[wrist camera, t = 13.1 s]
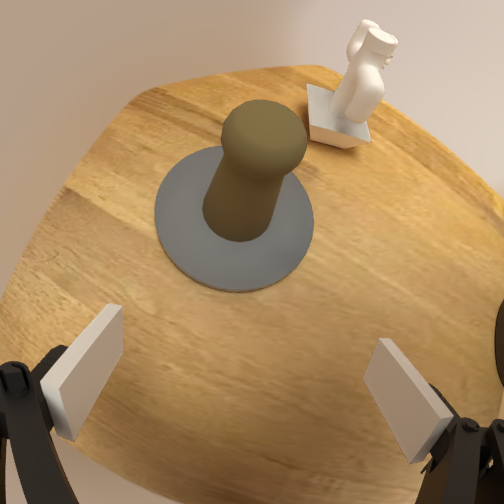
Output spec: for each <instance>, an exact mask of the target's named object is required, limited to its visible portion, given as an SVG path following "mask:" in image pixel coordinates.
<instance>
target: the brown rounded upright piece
mask: <svg viewBox="0 0 504 504" xmlns="http://www.w3.org/2000/svg"><path fill="white" fill-rule="evenodd" d="M221 143H222V148H223V152H224V155H223V157H222V159H221V161H220V163H219V166H218V168H217V170H216V172H215V175H214V177H213V179H212V181H211V184H210V186H209V188H208V190H207V193H206V195H205V197H204V200H203V206H202V211H203V216H204V220H205V221H206V223H207V225H208V226H209V228H210V229H211V230H212V231H213V232H214V233H215V234H217V235H218V236H220V237H222V238H224V239H226V240H228V241H234V242H246V241H251V240H253V239H255V238H257V237H259V236H261V235H262V234H263V233H264V232H265V231H266V230H267V229H268V226H269V224H270V222H271V219H272V216H273V212H274V209H275V206H276V203H277V199H278V196H279V193H280V189H281V186H282V183H283V179H284V176H285V175H287V174H288V173H290V172H291V171H292V170H293V169H294V168H295V167H297V166H298V165H299V164H300V162H301V160H302V159H303V156H304V154H305V151H306V148H307V133H306V129H305V127H304V125H303V123H302V120H301V119H300V118H299V117H298V116H297V115H296V113H294V112H293V111H292V110H290V109H289V108H287V107H286V106H284V105H281V104H279V103H277V102H273V101H268V100H252V101H248V102H245V103H243V104H241V105H240V106H238V107H236V108H235V109H233V110H232V111H231V113H230V114H229V116H228V117H227V118H226V120H225V122H224V124H223V129H222V135H221Z"/></svg>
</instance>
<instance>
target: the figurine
mask: <svg viewBox="0 0 504 504" xmlns="http://www.w3.org/2000/svg"><path fill="white" fill-rule="evenodd" d="M397 44H398V40H397V39H396V38H395V37H394V36H393V35H392V34H387V33H386V32H384V31H382V30H380V27H379V26H378V25H377V24H376V23H374V22H372V21H370V20H363V21H361V22H360V24H359V26H358V27H357V29H356V31H355V33H354V35H353V37H352V39H351V41H350V42H349V44H348V47H347V57H348V60H349V67H348V69H347V72H346V74H345V75H344V77H343V79H342V81H341V82H340V84H339V86H338V88H337V90H336V91H335V92H334V91H331V90H327V89H324V88H321V87H317V86H314V85H310V84H307V83H306V84H307V99H308V117H309V130H310V140H313V141H317V142H320V143H324V144H328V145H332V146H335V147H339V148H343V149H346V148H350V147H355V146H359V145H364V144H368V143H372V142H371V138H370V134H369V129H368V125H367V119H368V118H369V117H370V115H371V114H372V113H373V111H374V110H375V108H376V107H377V106H378V104H379V103H380V101H381V100H382V98H383V95H384V91H385V88H384V84H383V81H382V79H381V76H380V71H381V69H383V68H384V64H385V65H388V64H389V62H390V58H392V56H391V54H392V53H393V51H394V49H395V48H396V46H397Z"/></svg>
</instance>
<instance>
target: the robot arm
mask: <svg viewBox="0 0 504 504" xmlns="http://www.w3.org/2000/svg"><path fill="white" fill-rule="evenodd" d="M495 347H496V360H497V366H498V371H499V375H500V378H501V381H502V383H503V385H504V301H503V303H502V305H501V307H500V310H499V314H498V318H497V325H496V337H495ZM123 353H124V348H123V306H121V305H116V304H111V303H108V304H107V305H106V306H105V307H104V308H103V310H102V311H101V312H100V313H99V314H98V315H97V316H96V317H95V318H94V319H93V321H92V322H91V323H90V324H89V325H88V326H87V327H86V328H85V329H84V331H83V332H82V333H81V334H80V335H79V336H78V337H77V338H76V340H75V341H74V342H73V343H72V344H71V345H70V346H69V347H67V346H64V345H59V346H57V347H55V348H53V349H51V350H50V351H49V352H48V354H47V355H46V356H45V357H44V358H43V359H42V360H41V361H40V363H38V364H37V366H36V367H35V368H34V369H33V370H32V371H31V372H30V371H29V369H28V367H27V366H26V365H25V364H24V363H21V362H18V361H10V362H6V363H4V364H2V365H1V366H0V504H6V491H5V463H6V444H7V439H10V443H11V448H12V452H13V456H14V460H15V464H16V468H17V472H18V475H19V478H20V482H21V485H22V489H23V491H24V495H25V498H26V500H27V503H28V504H79V502H78V501H77V498H76V496H75V494H74V492H73V490H72V488H71V486H70V483H69V481H68V479H67V477H66V474H65V472H64V470H63V467H62V465H61V462H60V460H59V457H58V454H57V452H56V449H55V446H54V444H53V441H52V438H51V435H50V431H51V429H52V428H53V426H54V428H55V431H56V433H57V435H58V436H60V437H63V438H65V439H68V440H71V441H73V442H75V440H76V438H77V436H78V434H79V432H80V430H81V428H82V426H83V425H84V423H85V421H86V419H87V417H88V415H89V413H90V411H91V410H92V408H93V406H94V404H95V402H96V400H97V399H98V397H99V395H100V393H101V391H102V390H103V388H104V386H105V384H106V382H107V381H108V379H109V377H110V375H111V374H112V372H113V370H114V368H115V367H116V365H117V363H118V361H119V360H120V358H121V356H122V355H123ZM363 381H364V383H365V384H366V386H367V388H368V390H369V392H370V393H371V395H372V397H373V399H374V400H375V402H376V404H377V406H378V408H379V409H380V411H381V413H382V415H383V417H384V418H385V420H386V422H387V424H388V426H389V428H390V429H391V431H392V433H393V435H394V437H395V439H396V440H397V442H398V444H399V446H400V448H401V450H402V452H403V453H404V455H405V457H406V459H407V461H408V463H409V464H412V463H416V462H421V461H423V460H424V459H425V457H426V456H427V455H428V453H429V452H430V453H431V455H432V458H431V460H430V461H429V462H428V463H427V465H426V466H425V467H424V468H423V470H422V471H421V474H422V473H423V472H424V471H425V470H426V473H425V476H424V479H423V482H422V485H421V488H420V491H419V494H418V497H417V500H416V502H415V504H504V420H501V419H495V420H493V422H492V423H491V425H490V426H489V428H486V427H480V426H479V424H478V423H477V422H476V421H474V420H472V419H470V418H466V417H465V418H460V416H459V415H458V414H457V413H456V411H455V410H454V409H453V408H452V406H451V405H450V404H449V403H448V402H446V401H447V400H446V399H445V398H444V397H442V394H441V393H440V392H439V391H438V389H437V388H435V387H434V386H432V385H431V384H430V383H427V382H426V380H425V379H424V378H423V377H422V376H421V374H420V373H419V372H418V371H417V370H416V368H415V367H414V366H413V365H412V364H411V362H410V361H409V360H408V359H407V358H406V356H405V355H404V354H403V353H402V352H401V350H400V349H399V348H398V347H397V346H396V345H395V343H394V342H393V341H392V340H391V339H390V338H378V341H377V344H376V346H375V349H374V352H373V354H372V357H371V360H370V362H369V365H368V367H367V370H366V372H365V375H364V377H363ZM492 459H493V465H492V466H491V467H489V463H490V461H491V460H492Z"/></svg>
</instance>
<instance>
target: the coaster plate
mask: <svg viewBox="0 0 504 504" xmlns="http://www.w3.org/2000/svg"><path fill="white" fill-rule="evenodd" d="M223 155H224V152H223V148H222V146H215V147H210V148H206V149H203V150H200V151H197V152H195V153H193V154H190V155H189V156H187V157H185V158H184V159H182V160H181V161H180V162H178V163H177V164H176V165H175V166H174V167H173V168H172V169H171V170H170V171H169V172H168V174H167V175H166V177H165V178H164V180H163V181H162V183H161V186H160V188H159V190H158V193H157V197H156V202H155V222H156V228H157V233H158V236H159V240H160V243H161V245H162V247H163V249H164V251H165V253H166V254H167V256H168V257H169V259H170V260H171V261H172V262H173V263H174V265H175V266H176V267H177V268H178V269H179V270H180V271H182V272H183V273H184V274H185V275H186V276H188V277H189V278H191V279H192V280H194V281H196V282H198V283H200V284H202V285H204V286H206V287H209V288H212V289H215V290H220V291H225V292H239V293H240V292H251V291H255V290H260V289H263V288H265V287H268V286H271V285H273V284H274V283H276V282H278V281H280V280H281V279H282V278H284V277H285V276H286V275H288V274H289V273H290V272H291V271H292V270H293V269H294V268H295V267H296V266H297V265H298V264H299V263H300V261H301V260H302V259H303V257H304V256H305V254H306V252H307V250H308V248H309V246H310V243H311V240H312V235H313V228H314V218H313V211H312V206H311V203H310V200H309V197H308V195H307V193H306V191H305V189H304V187H303V186H302V184H301V183H300V181H299V180H298V178H297V177H296V176H295V175H294V174H293V173H292V172H290V173H288V174H287V175H285V176H284V179H283V183H282V186H281V189H280V193H279V196H278V199H277V203H276V206H275V209H274V212H273V216H272V219H271V222H270V224H269V226H268V229H267V230H266V231H265V232H264V233H263V234H262V235H261V236H259V237H257V238H255V239H253V240H251V241H246V242H234V241H228V240H226V239H224V238H222V237H220V236H218V235H217V234H215V233H214V232H213V231H212V230H211V229H210V228H209V226H208V225H207V223H206V221H205V220H204V216H203V211H202V206H203V200H204V197H205V195H206V193H207V190H208V188H209V186H210V184H211V181H212V179H213V177H214V175H215V172H216V170H217V168H218V166H219V163H220V161H221V159H222V157H223Z"/></svg>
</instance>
